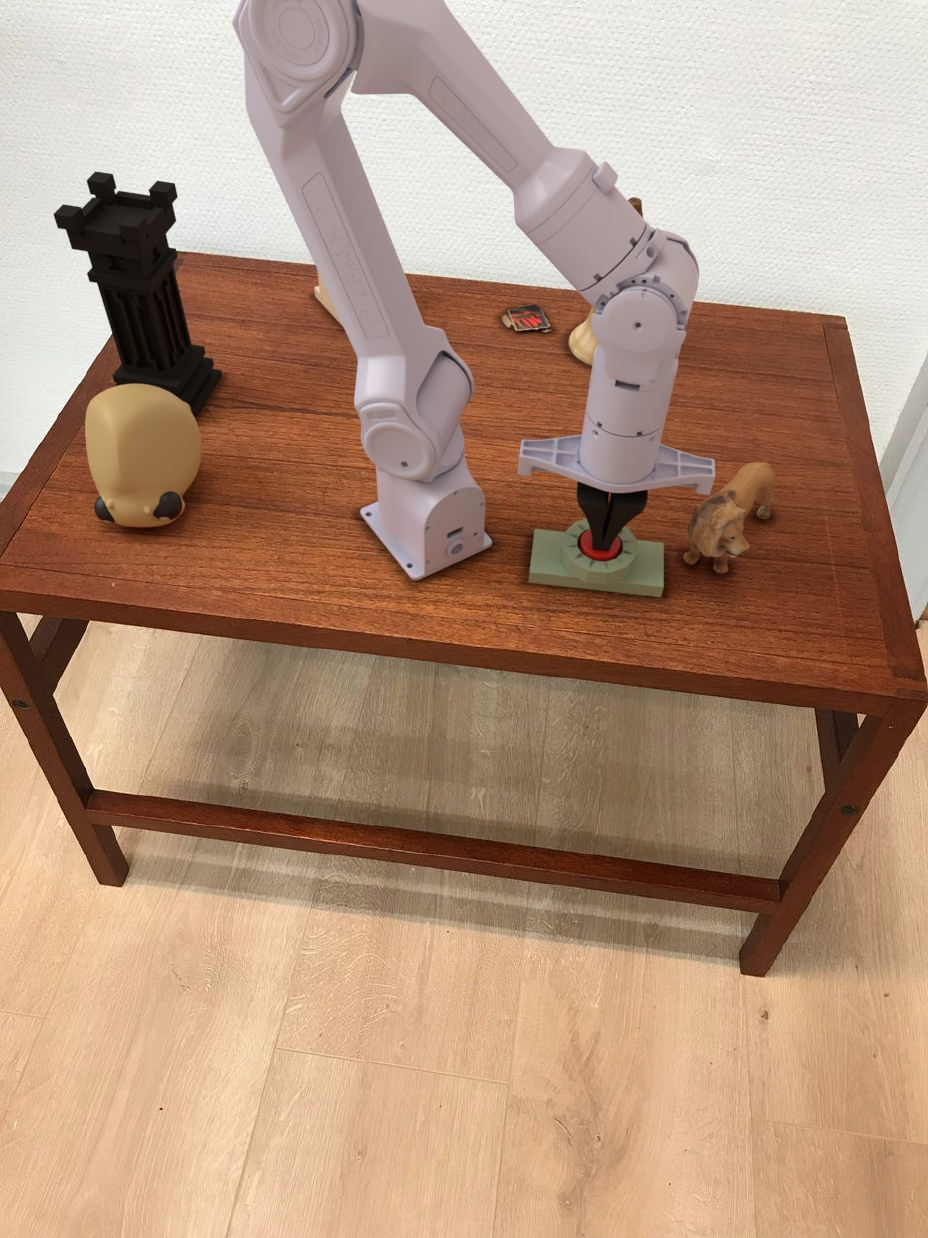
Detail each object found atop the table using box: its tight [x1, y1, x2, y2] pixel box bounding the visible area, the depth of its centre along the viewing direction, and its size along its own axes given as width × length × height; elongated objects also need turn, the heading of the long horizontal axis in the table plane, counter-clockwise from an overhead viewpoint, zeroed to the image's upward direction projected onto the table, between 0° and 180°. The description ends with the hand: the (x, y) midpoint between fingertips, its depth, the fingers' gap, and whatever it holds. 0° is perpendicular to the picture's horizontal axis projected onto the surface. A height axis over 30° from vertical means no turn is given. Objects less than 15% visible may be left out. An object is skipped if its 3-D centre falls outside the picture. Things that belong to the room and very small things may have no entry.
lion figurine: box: [682, 461, 776, 574], centre depth 81 cm, size 15×5×9 cm, turn 151°
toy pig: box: [84, 384, 203, 528], centre depth 83 cm, size 10×12×11 cm
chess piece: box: [52, 170, 223, 420], centre depth 88 cm, size 8×8×20 cm
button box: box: [527, 518, 665, 598], centre depth 81 cm, size 11×6×3 cm, turn 83°
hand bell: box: [568, 196, 644, 367], centre depth 96 cm, size 8×8×16 cm
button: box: [580, 530, 620, 562], centre depth 81 cm, size 3×3×2 cm
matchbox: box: [500, 303, 553, 333], centre depth 104 cm, size 5×5×1 cm
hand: (601, 541), depth 80 cm, fingers closed, pressing on button
